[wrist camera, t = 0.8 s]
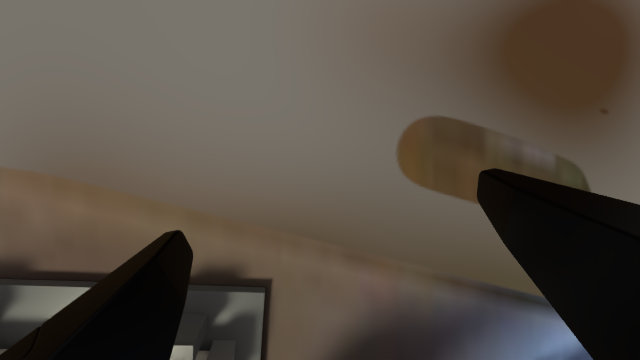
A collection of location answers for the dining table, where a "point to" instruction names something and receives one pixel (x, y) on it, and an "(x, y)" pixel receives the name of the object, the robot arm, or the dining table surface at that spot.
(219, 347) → the cream cylindrical rod
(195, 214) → the dining table surface
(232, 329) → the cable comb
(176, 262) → the robot arm
